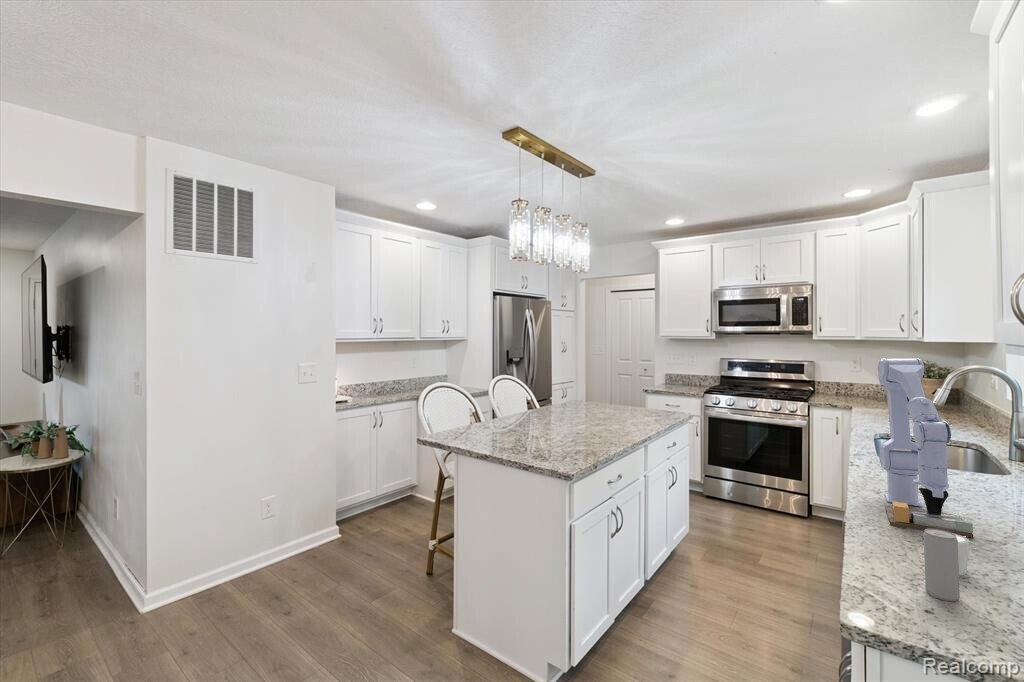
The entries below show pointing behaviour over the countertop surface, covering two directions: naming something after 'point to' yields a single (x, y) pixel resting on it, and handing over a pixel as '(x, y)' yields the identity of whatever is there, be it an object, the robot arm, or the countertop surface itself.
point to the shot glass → (963, 554)
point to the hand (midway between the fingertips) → (934, 517)
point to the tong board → (932, 523)
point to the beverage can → (941, 564)
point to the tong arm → (940, 515)
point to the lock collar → (900, 512)
